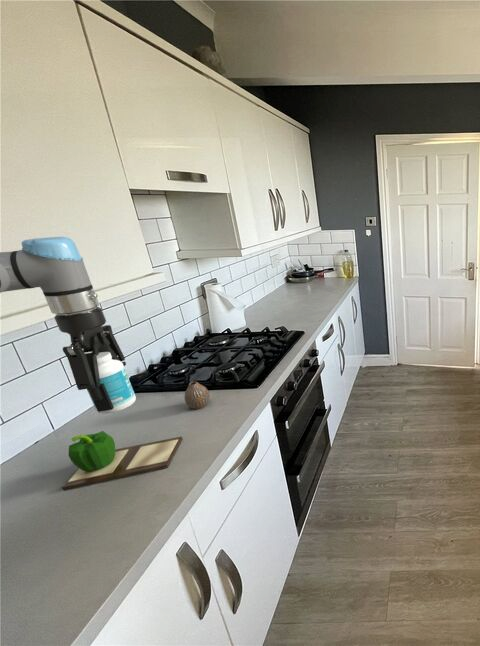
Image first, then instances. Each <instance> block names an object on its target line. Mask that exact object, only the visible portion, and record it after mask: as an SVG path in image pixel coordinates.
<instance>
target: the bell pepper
mask: <svg viewBox="0 0 480 646" xmlns="http://www.w3.org/2000/svg"><path fill="white" fill-rule="evenodd" d="M77 440H79V441H77ZM70 441H72V442H74V443H72V444H70V445H69V446H68V457H69V459H70V461H71V462H72V463H73V464H74V465H75V466H76V468H77V469H78V468H80V469H81V470H83V471H86V472H89V471H93V470H95V469H101V468H104V467H106V466H108V465H109V464H110V463H111V462H112V461H113V460H114V457H115V450H116V443H115V441H114V438H113V436H111V435H110V434H108V433H107V432H105V431H104V430H101V431H99V432H96V433H91V434H89V433H88V434H83V435H82V434H80V435H76V436H74V437H72V438H71V439H70Z"/></svg>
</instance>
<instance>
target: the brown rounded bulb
mask: <svg viewBox="0 0 480 646" xmlns="http://www.w3.org/2000/svg"><path fill="white" fill-rule="evenodd" d="M183 396H184V401H185V404H186V406H188V407H189V408H191V409H193V410H199V409H202V408H204V407H206V406H207V405H208V404H209V402H210V391H209V390H208V388H207V387H206V386H204V385H203V384H200V383H199V382H198V381H192V382H189V384H188V386H187V388H186V390H185V391H184V395H183Z"/></svg>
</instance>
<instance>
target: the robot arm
mask: <svg viewBox="0 0 480 646" xmlns="http://www.w3.org/2000/svg"><path fill="white" fill-rule="evenodd" d="M36 288H40V289H41V291H42V294H43V296H44V298H45V301H46V302H47V305H48V307H49V310H50V313H51V314H54V317H53V318H54V321H55V323H56V325H57V328H58V330H59V331H60V332H61V333H64V334H67V335H69V336H70V337H69V338H70V345H68V346H63V347H62V352H63V354H64V355H65V356H66V358H67V361H68V364H69V367H70V370H71V373H72V375H73V379H74V382H75V385H76V388H77V390H78V391H83V390H87V389H88V391H89V393H90V395H91V397H92V400H93V402H94V404H95V406H96V408H97V411H98V412H97V411H96V412H97V413H99V412H101V411H107V410H112V409H113V408H114V407H113V404H112V402H111V399H110V397H109V395H108V392H107V390H106V388H105V385H104V383H103V384H100V377H99V370H98V363H97V355H99V353H100V352H110V354H111V356H112V359H113V360H119V361H121V362H122V363H123V365H124V367H125V366H126V365H127V362H126V361H125V360H126V357H125V355H124V353H123V351H122V349H121V347H120V346H119V343H118V341H117V338H116V337H115V335H114V332H113V328H112V326H111V325H110V324H106V323H107V319H106V317H105V316H106V315H105V314H104V311H103V309H102V308H101V307H100V306H99V305H100V302H99V299H98V297H99V296H98V294H97V293H96V292H95V289H94V287H93V284H92V281H91V279H90V275H89V273H88V271H87V268H86V265H85V262H84V258H83V256H81V254H80V252H79V249H78V247H77V245H76V243H75V241H74V239H72V238H70V237H66V236H51V237H50V236H49V237H40V238H39V237H37V238H29V239H24V240H22V241H21V249H19V250H12V251H1V252H0V294H1V293H7V292H13V291H19V290H20V291H21V290H27V289H28V290H29V289H30V290H31V289H36ZM112 359H111V360H112ZM88 391H87V392H88ZM89 393H88V394H89ZM90 395H89V396H90ZM92 400H91V401H92ZM93 402H92V403H93ZM94 404H93V405H94Z"/></svg>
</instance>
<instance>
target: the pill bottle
mask: <svg viewBox="0 0 480 646" xmlns="http://www.w3.org/2000/svg"><path fill="white" fill-rule="evenodd" d="M111 359H112V356H111V354H110V352H100V353H99V355H97V363H98V370H99V377H100V384H103V383H104V385H105V388H106V390H107V392H108V395H109V397H110V399H111V402H112V404H113V407H114V408H113V409H112V410H107V411H101V412H98V411H97V408H96V406H95V404H94V402H93V400H92V397H91V395H90V393H89V391H88V389H86V390H87V391H86V392H87V393H88V395H89V397H90V400H91V402H92V405H93V407H94V408H95V411H96V412H97V413H98V414H102V415H103V414H104V415H106V414H113V413H117V412H119V411H122V410H125V409H127V408H128V407H131V406H132V405H133V404H134V403H135V402H136V400H137V396H136V394H135V391H134V388H133V386H132V384H131V381H130V378H129V376H128V373H127V371H126V368H125V366H124V365H123V363H122V362H123V361H122V362H121V361H119V360H113V359H112V360H111Z"/></svg>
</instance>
